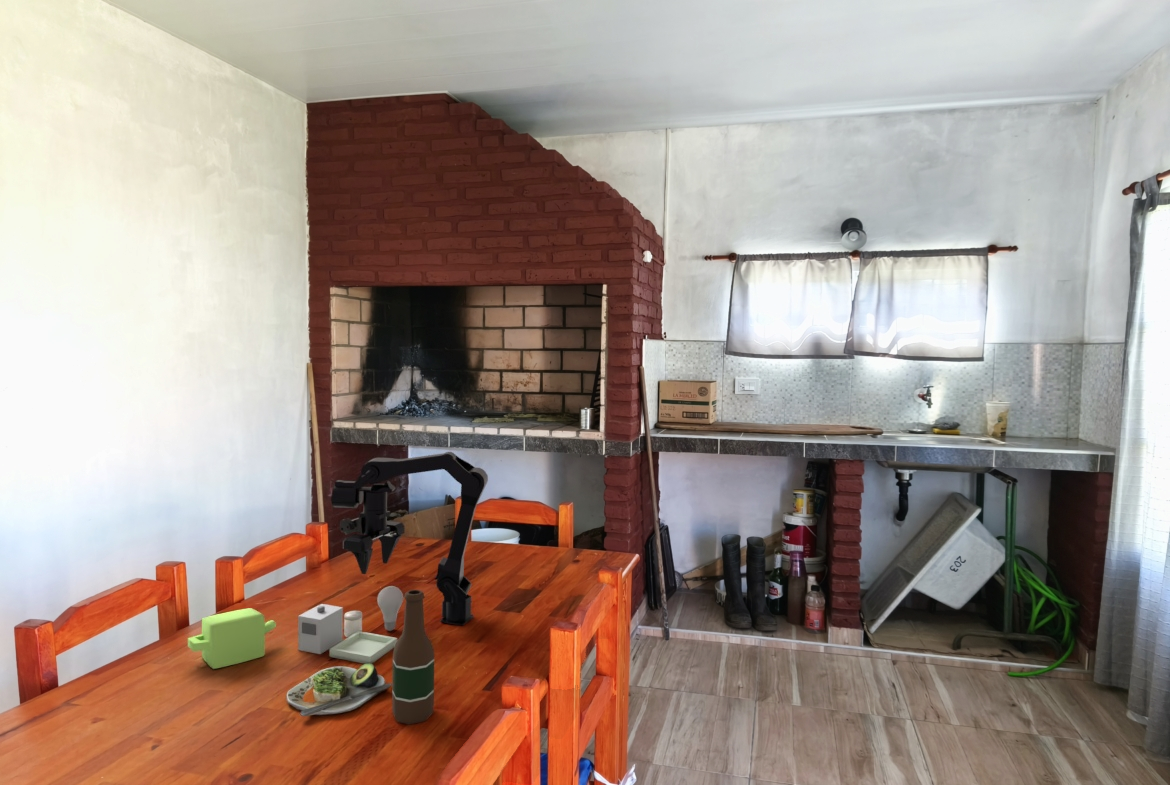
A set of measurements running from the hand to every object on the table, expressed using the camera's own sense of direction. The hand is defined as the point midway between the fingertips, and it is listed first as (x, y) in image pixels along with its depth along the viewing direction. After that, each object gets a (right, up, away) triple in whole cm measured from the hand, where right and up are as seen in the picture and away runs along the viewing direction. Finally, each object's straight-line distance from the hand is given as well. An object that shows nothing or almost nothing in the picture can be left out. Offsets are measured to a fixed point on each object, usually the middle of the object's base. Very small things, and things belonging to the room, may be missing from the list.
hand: (374, 568), depth 180 cm
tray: (+3, -14, -18) cm, 24 cm away
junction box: (-8, -14, -16) cm, 23 cm away
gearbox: (-24, -14, -22) cm, 36 cm away
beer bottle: (+21, -17, -45) cm, 52 cm away
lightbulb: (+6, -14, -7) cm, 16 cm away
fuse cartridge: (-2, -14, -9) cm, 17 cm away
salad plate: (+4, -16, -38) cm, 41 cm away
